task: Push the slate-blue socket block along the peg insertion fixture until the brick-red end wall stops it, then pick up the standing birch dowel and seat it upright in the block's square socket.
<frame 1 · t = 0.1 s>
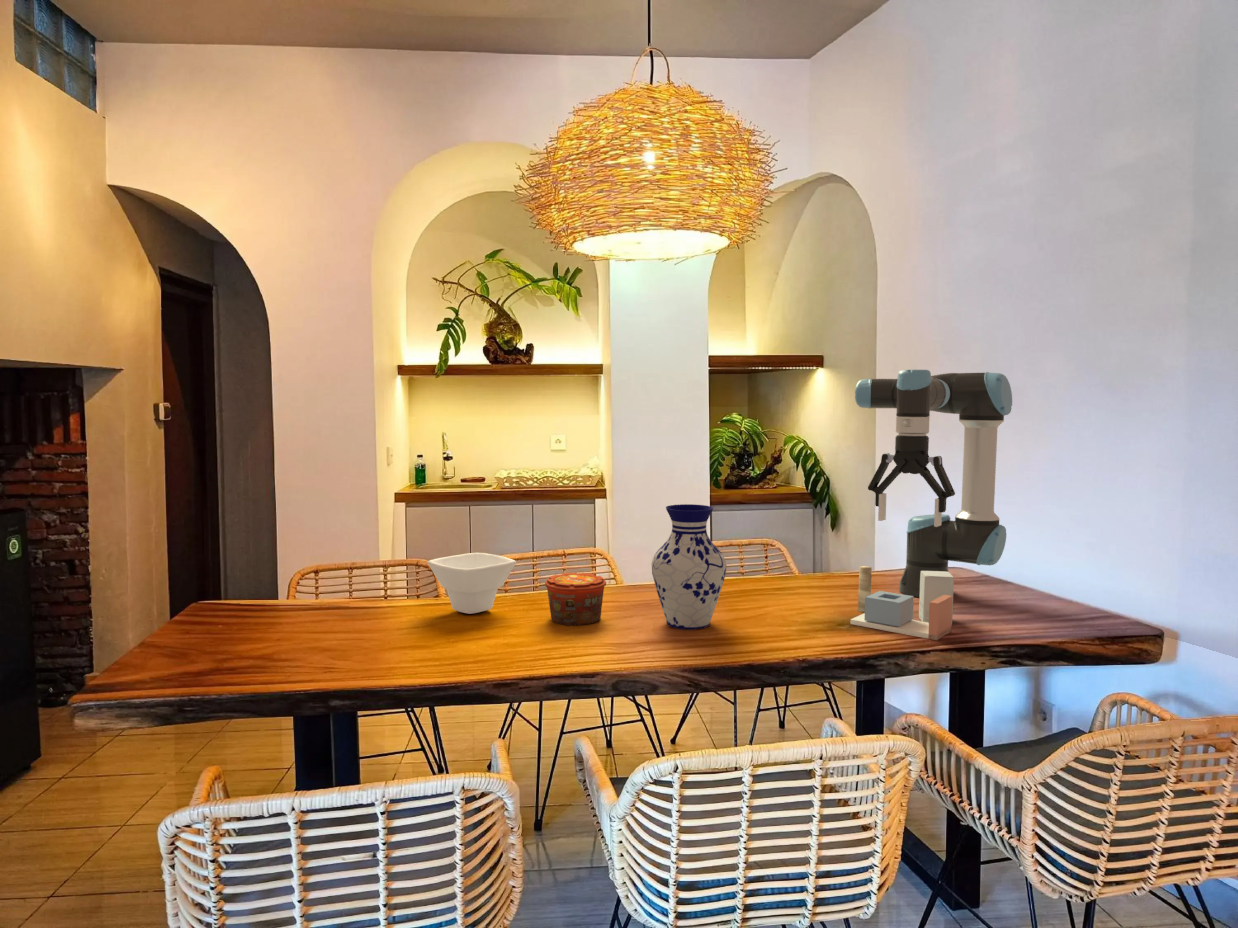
hand: (909, 523, 206), 28 cm above the table, fingers open, 13 cm apart
peg insertion fixture: (900, 627, 217), on the table
supplement box: (935, 621, 223), on the table
food container: (575, 619, 224), on the table
vase: (688, 624, 219), on the table
bowl: (472, 612, 231), on the table
socket block: (889, 608, 218), point 5 cm above the table, slide at 0.0 cm
dowel: (864, 610, 233), on the table
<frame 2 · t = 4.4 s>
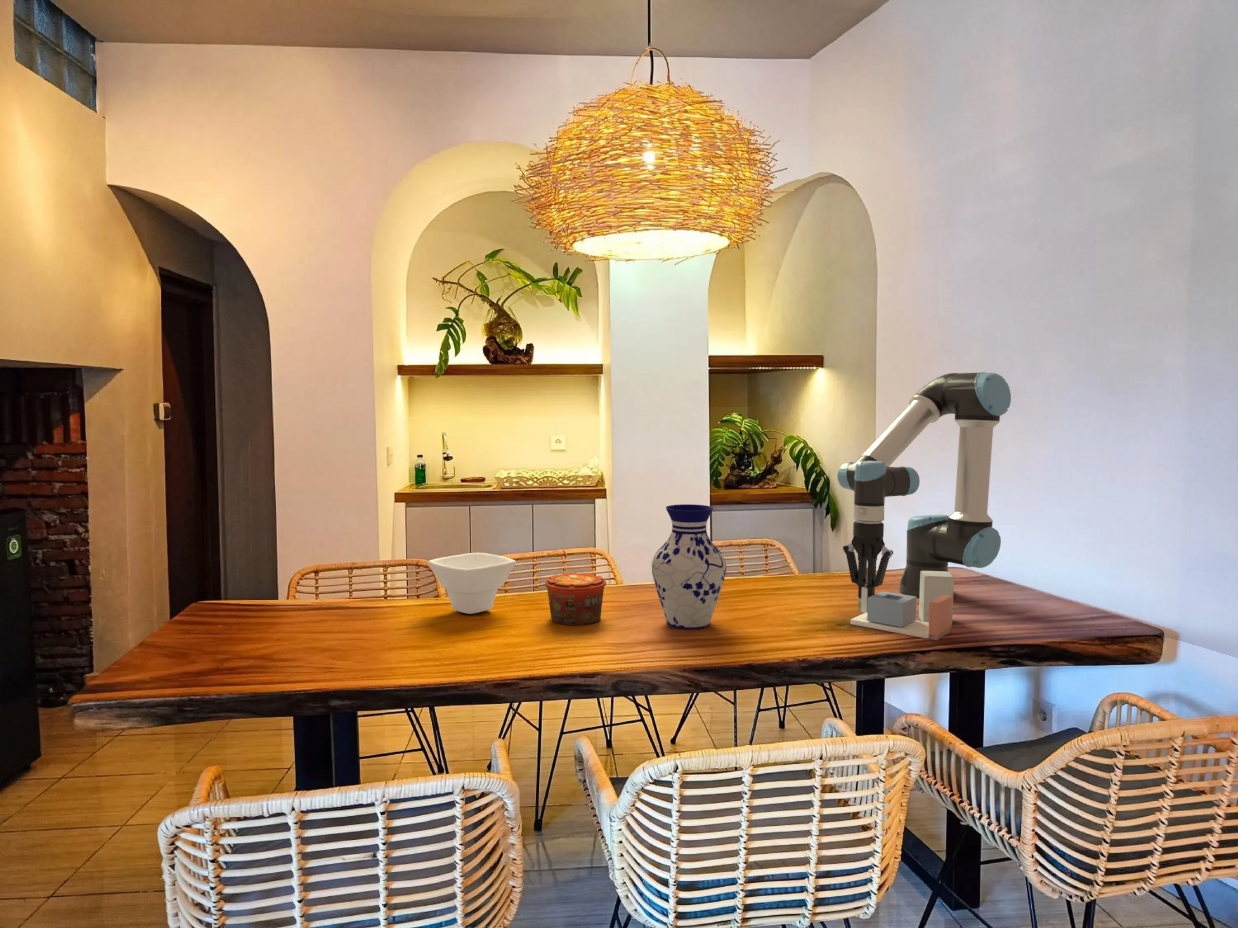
hand: (865, 611, 222), 3 cm above the table, fingers closed
socket block: (891, 608, 218), point 4 cm above the table, slide at 0.8 cm, touching gripper
everything else where it was.
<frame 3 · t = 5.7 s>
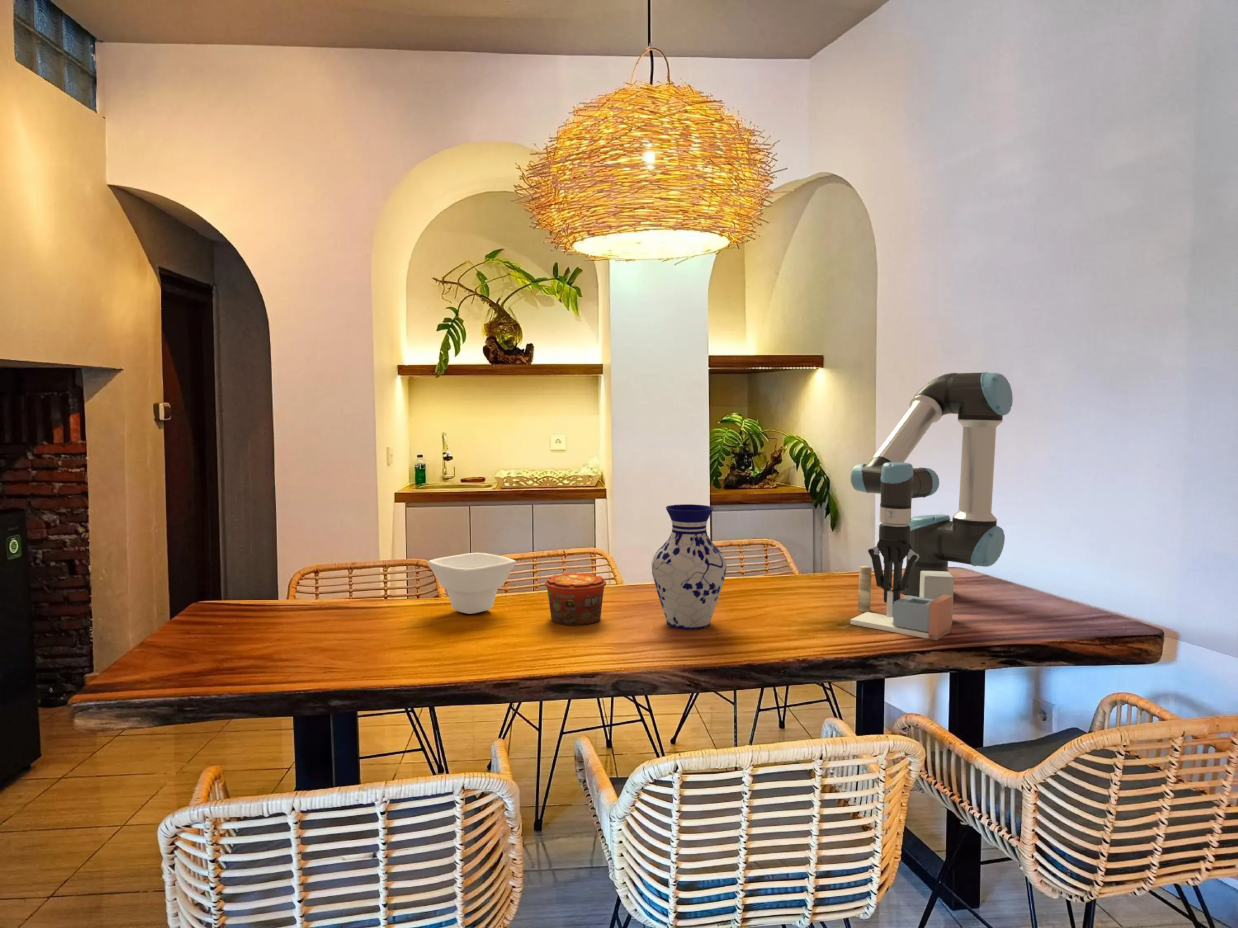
hand: (891, 615, 218), 3 cm above the table, fingers closed
socket block: (918, 613, 213), point 4 cm above the table, slide at 7.5 cm, touching gripper, peg insertion fixture
everything else where it was.
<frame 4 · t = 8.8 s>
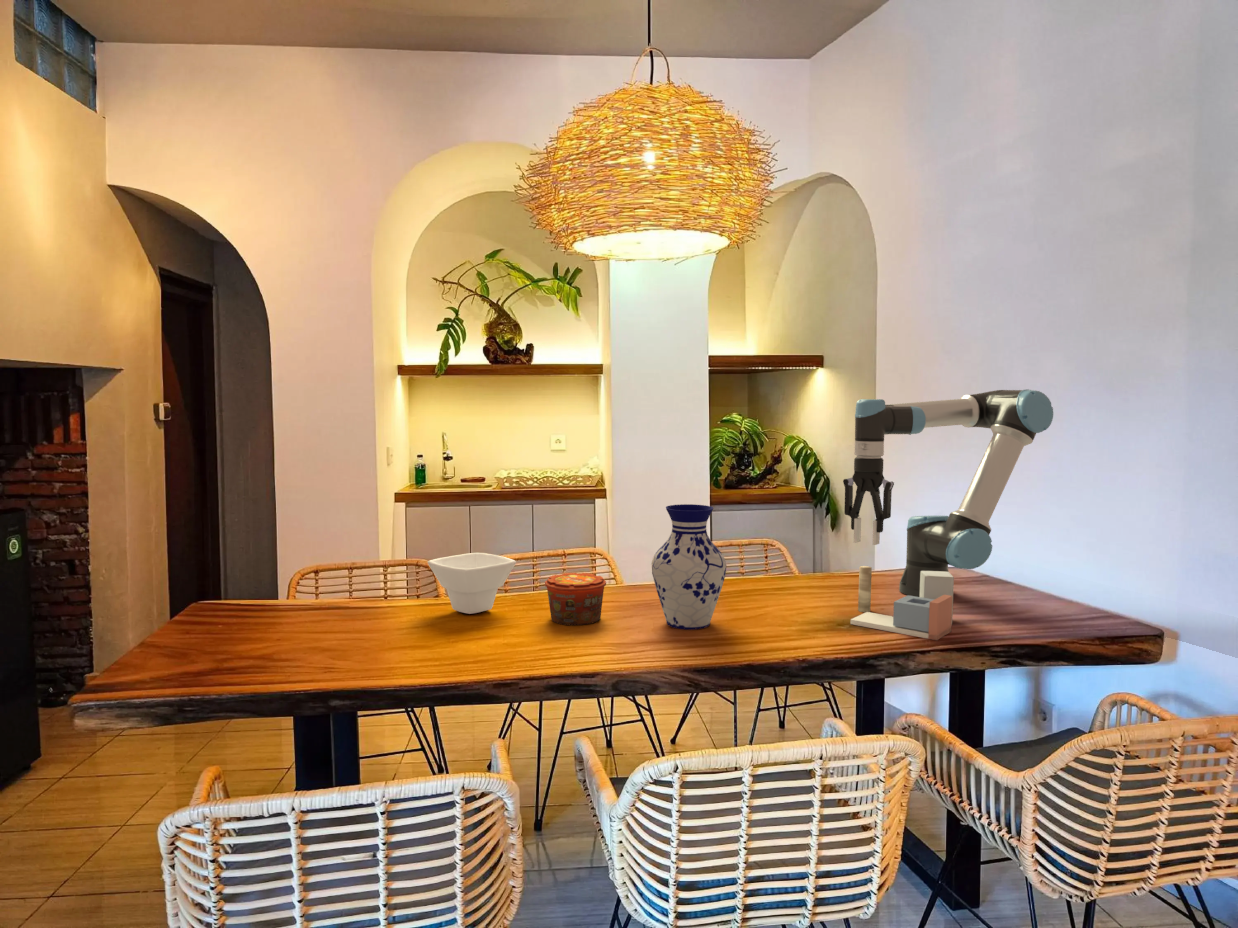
hand: (866, 542, 232), 19 cm above the table, fingers open, 5 cm apart
socket block: (918, 613, 213), point 4 cm above the table, slide at 7.5 cm, touching peg insertion fixture
everything else where it was.
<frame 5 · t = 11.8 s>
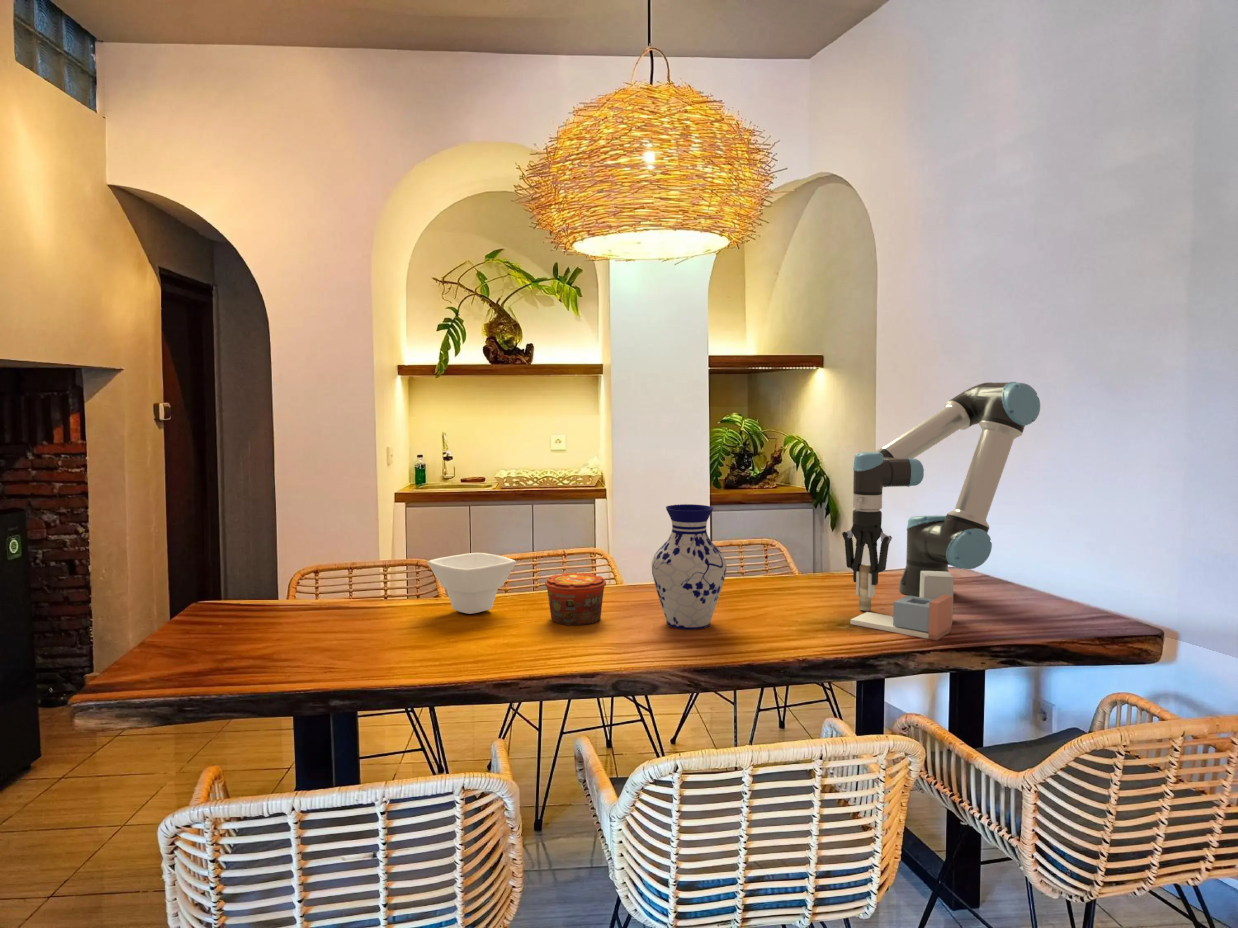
hand: (865, 595, 233), 4 cm above the table, fingers closed on dowel, 3 cm apart
dowel: (864, 609, 233), on the table, touching gripper
everything else where it was.
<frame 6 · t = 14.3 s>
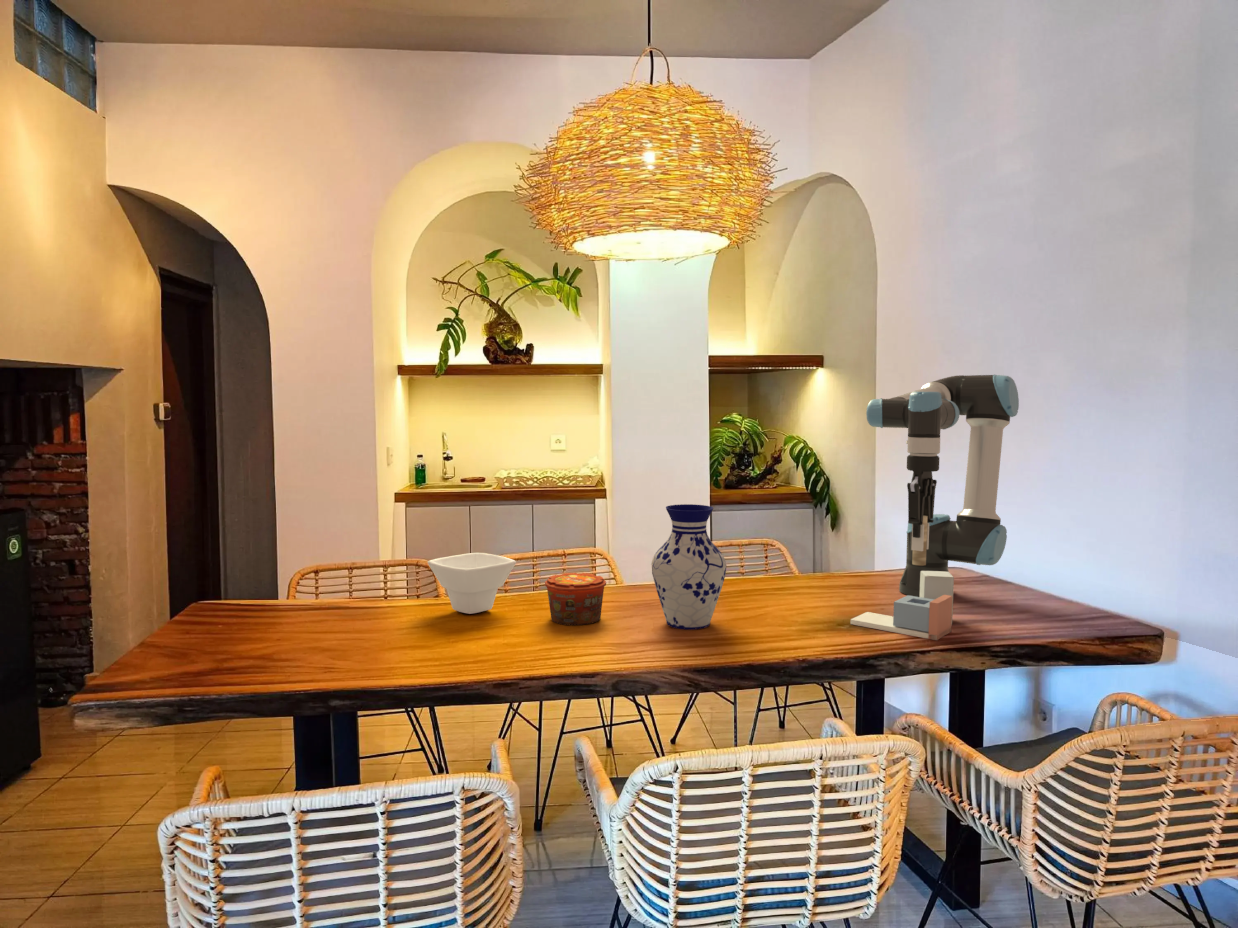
hand: (919, 549, 212), 21 cm above the table, fingers closed on dowel, 3 cm apart
dowel: (919, 564, 212), point 17 cm above the table, touching gripper
everything else where it was.
when the fingers open (9 cm above the table, at t = 17.2 s): dowel drops 3 cm, resting on socket block.
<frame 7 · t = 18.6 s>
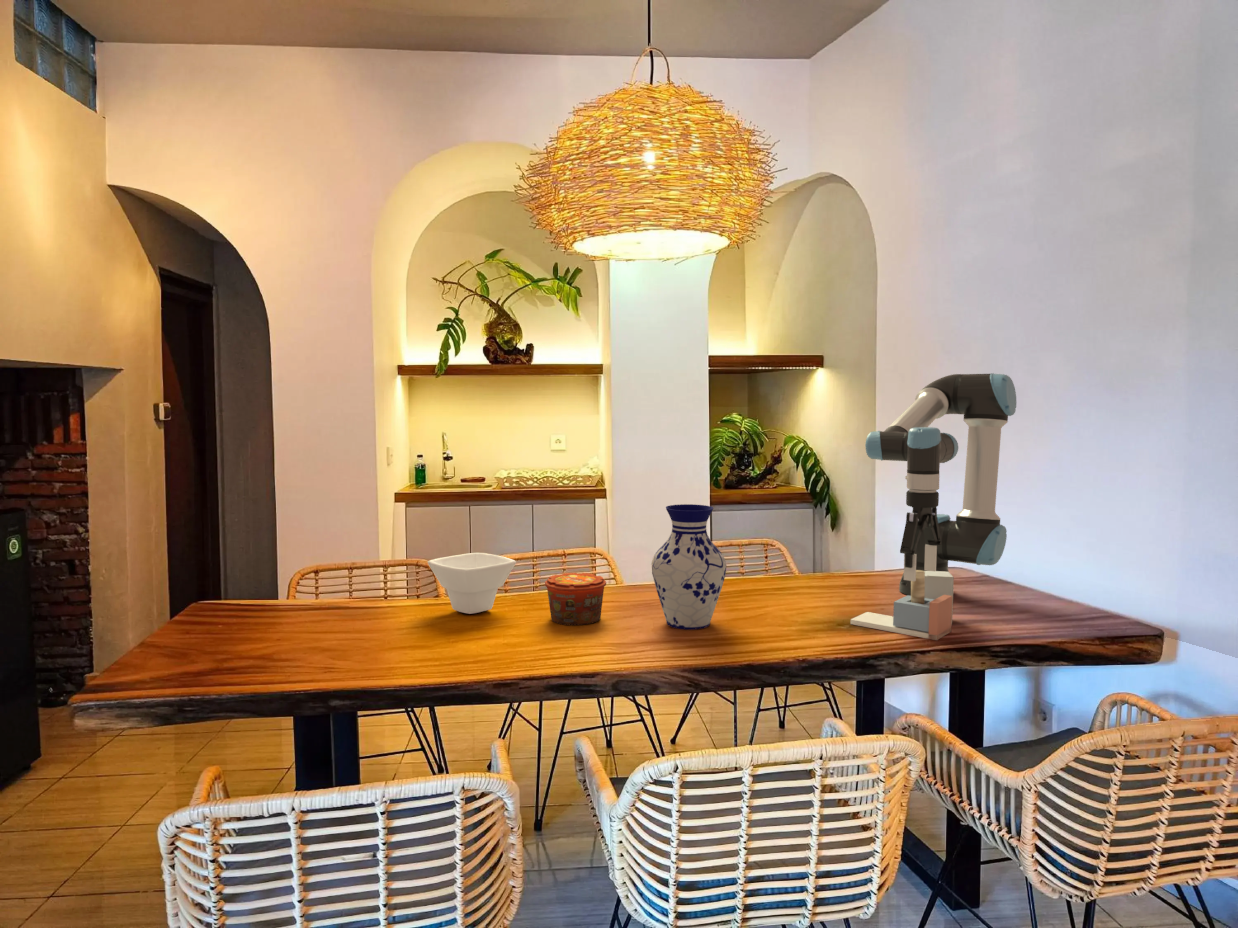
hand: (920, 575, 213), 14 cm above the table, fingers open, 13 cm apart
socket block: (918, 613, 213), point 5 cm above the table, slide at 7.5 cm, touching dowel
dowel: (917, 618, 214), point 3 cm above the table, touching socket block
everything else where it was.
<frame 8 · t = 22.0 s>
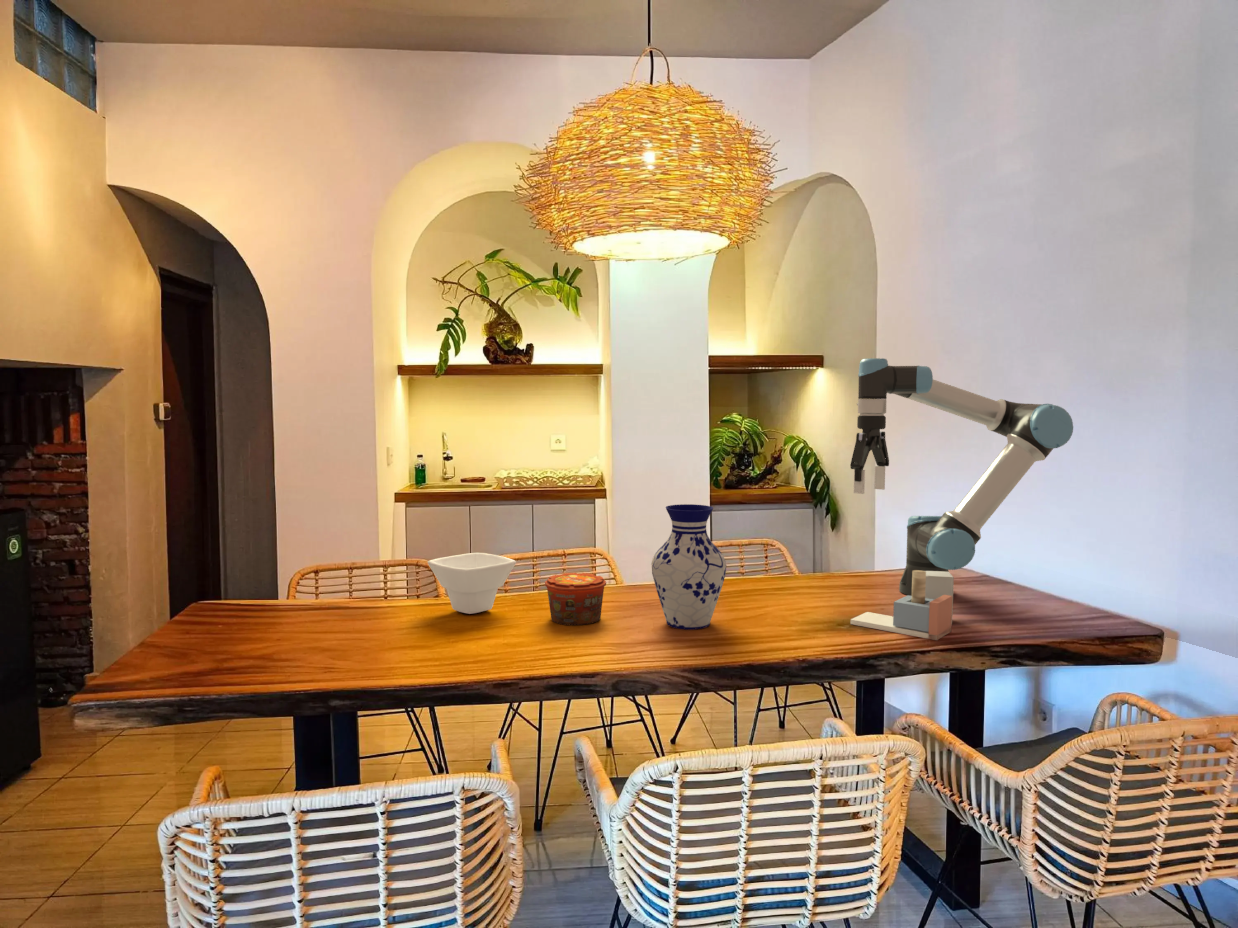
hand: (869, 491, 239), 32 cm above the table, fingers open, 13 cm apart
nothing on the table moved.
at the end: socket block slide at 7.5 cm; dowel 0.1 cm from the target spot, point 3.0 cm above the table; dowel tilted 1° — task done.
